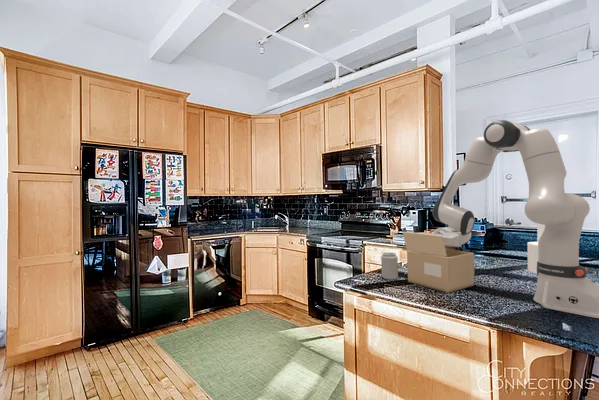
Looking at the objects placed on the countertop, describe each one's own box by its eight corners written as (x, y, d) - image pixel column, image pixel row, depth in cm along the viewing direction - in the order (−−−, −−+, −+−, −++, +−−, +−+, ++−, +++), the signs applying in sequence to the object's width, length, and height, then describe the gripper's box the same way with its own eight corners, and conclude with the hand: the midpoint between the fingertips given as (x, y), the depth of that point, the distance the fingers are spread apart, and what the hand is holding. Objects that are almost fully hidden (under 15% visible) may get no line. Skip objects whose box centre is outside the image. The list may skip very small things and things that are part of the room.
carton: (476, 285, 134) (475, 253, 134) (449, 293, 124) (448, 258, 124) (432, 275, 152) (432, 246, 152) (406, 281, 143) (405, 250, 142)
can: (394, 281, 144) (394, 255, 144) (379, 278, 148) (378, 253, 148) (400, 277, 150) (399, 252, 150) (385, 275, 154) (384, 251, 154)
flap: (442, 235, 124) (441, 236, 123) (446, 256, 125) (446, 256, 125) (403, 231, 140) (402, 232, 140) (408, 249, 142) (407, 250, 141)
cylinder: (555, 268, 162) (554, 214, 162) (582, 276, 145) (581, 216, 145) (520, 267, 164) (519, 214, 164) (542, 276, 147) (541, 216, 146)
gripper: (423, 228, 149) (403, 230, 142) (464, 232, 131) (444, 235, 124) (423, 241, 149) (403, 244, 142) (465, 247, 131) (444, 251, 124)
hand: (422, 240), depth 133 cm, fingers closed, pressing on flap
